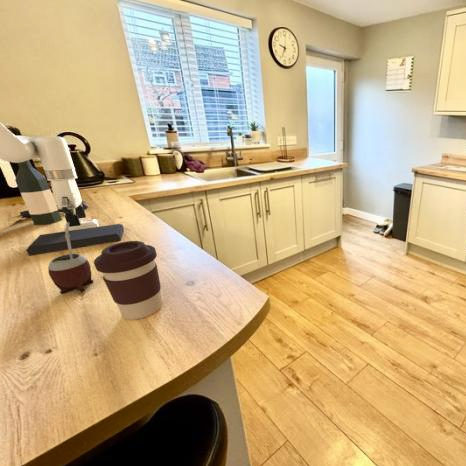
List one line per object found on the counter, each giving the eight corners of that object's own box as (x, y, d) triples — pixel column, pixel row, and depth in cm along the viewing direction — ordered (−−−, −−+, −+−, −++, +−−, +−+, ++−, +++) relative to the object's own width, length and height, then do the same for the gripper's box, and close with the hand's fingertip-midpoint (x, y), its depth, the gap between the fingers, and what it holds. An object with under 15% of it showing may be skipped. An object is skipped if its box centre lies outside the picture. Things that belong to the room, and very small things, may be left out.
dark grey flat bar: (28, 255, 85) (25, 248, 84) (41, 241, 95) (38, 234, 94) (120, 240, 96) (118, 233, 95) (124, 229, 106) (122, 223, 105)
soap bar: (66, 229, 105) (63, 222, 104) (98, 224, 110) (96, 218, 109) (65, 233, 101) (62, 226, 100) (98, 228, 106) (95, 221, 105)
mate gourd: (65, 299, 66) (39, 238, 60) (51, 289, 69) (25, 231, 63) (103, 283, 72) (83, 227, 66) (89, 275, 75) (68, 221, 69)
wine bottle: (41, 226, 108) (5, 142, 96) (27, 223, 110) (-9, 141, 99) (67, 219, 115) (37, 140, 104) (54, 217, 117) (23, 140, 106)
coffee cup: (144, 328, 57) (122, 260, 51) (102, 321, 59) (76, 256, 53) (180, 299, 66) (164, 239, 60) (142, 294, 68) (124, 235, 62)
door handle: (23, 206, 123) (18, 212, 111) (85, 198, 135) (86, 203, 124) (26, 213, 124) (22, 220, 113) (87, 205, 136) (88, 210, 125)
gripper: (53, 171, 103) (69, 216, 109) (37, 179, 89) (57, 231, 95) (81, 170, 106) (95, 214, 113) (70, 178, 93) (86, 227, 99)
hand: (77, 221), depth 104 cm, fingers open, 9 cm apart
